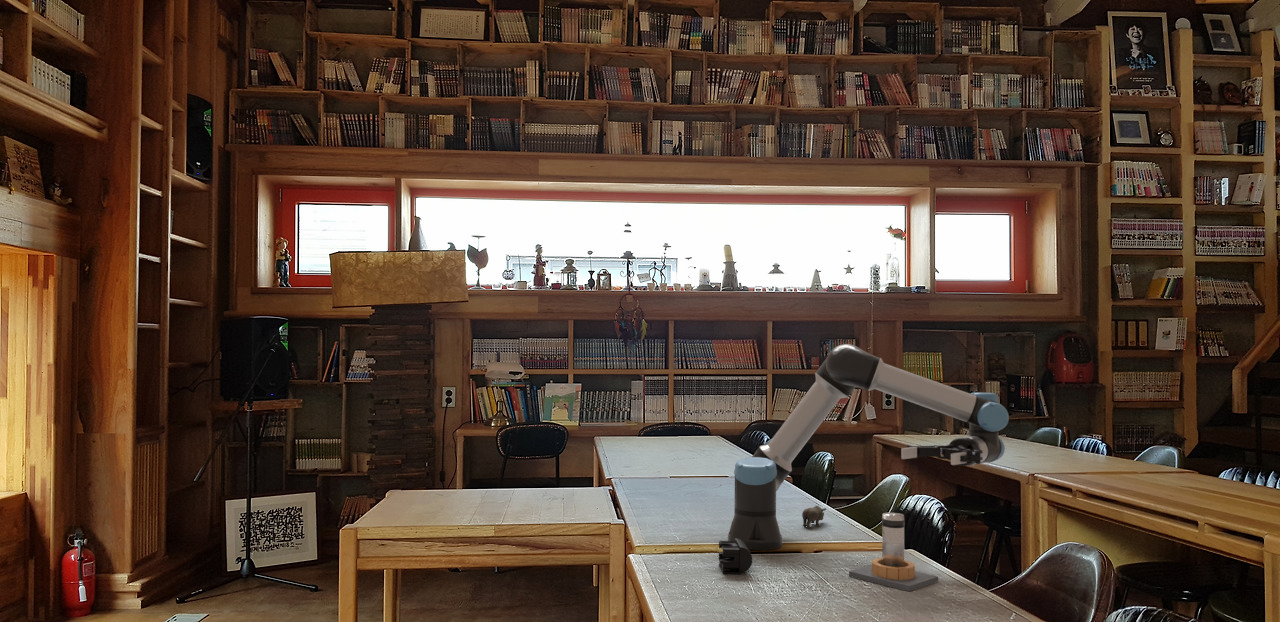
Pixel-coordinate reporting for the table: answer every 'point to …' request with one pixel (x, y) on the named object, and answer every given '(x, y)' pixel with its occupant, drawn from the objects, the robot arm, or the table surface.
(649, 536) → the table surface
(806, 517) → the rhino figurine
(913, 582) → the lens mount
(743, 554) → the end cap
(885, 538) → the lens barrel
